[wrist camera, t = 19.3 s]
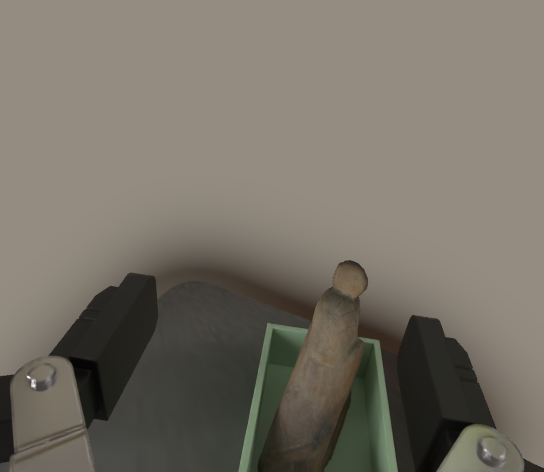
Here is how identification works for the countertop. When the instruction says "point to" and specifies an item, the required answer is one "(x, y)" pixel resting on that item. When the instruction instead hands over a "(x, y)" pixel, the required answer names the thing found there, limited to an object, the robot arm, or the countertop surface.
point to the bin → (360, 416)
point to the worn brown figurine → (319, 381)
